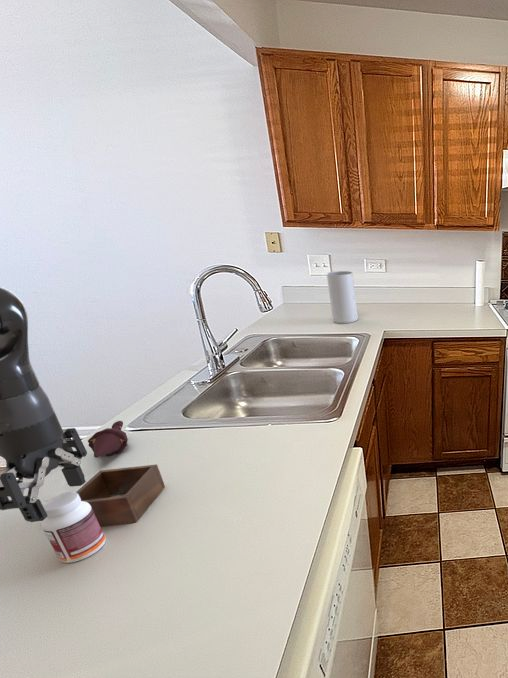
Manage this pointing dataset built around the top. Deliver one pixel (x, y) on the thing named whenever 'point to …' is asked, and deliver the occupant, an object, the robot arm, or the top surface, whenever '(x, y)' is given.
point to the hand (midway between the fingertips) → (59, 501)
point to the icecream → (109, 441)
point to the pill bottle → (72, 527)
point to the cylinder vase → (342, 296)
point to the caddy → (131, 481)
